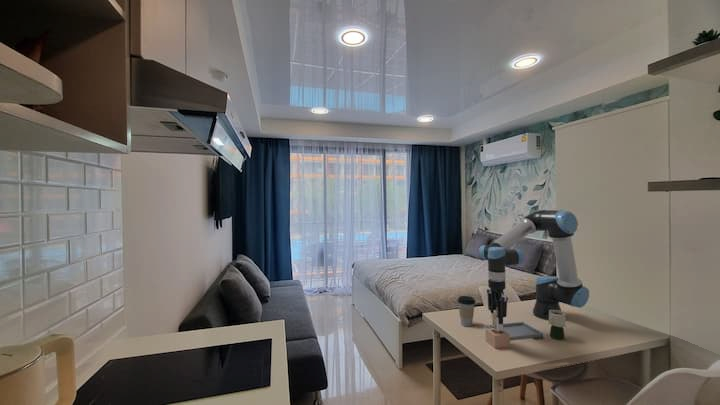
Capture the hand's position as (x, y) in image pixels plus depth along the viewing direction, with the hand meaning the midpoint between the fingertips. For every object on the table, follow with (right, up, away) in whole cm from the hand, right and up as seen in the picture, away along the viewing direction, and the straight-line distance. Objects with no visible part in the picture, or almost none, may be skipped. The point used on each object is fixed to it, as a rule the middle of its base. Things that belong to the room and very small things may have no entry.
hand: (497, 328), depth 148 cm
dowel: (0, -8, 0) cm, 8 cm away
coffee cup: (-6, -8, +25) cm, 27 cm away
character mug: (+33, -8, +7) cm, 35 cm away
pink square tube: (0, -9, 0) cm, 9 cm away
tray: (+14, -8, +13) cm, 21 cm away
